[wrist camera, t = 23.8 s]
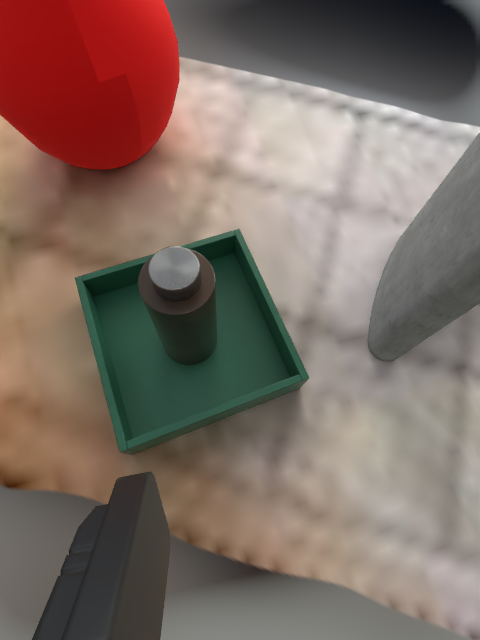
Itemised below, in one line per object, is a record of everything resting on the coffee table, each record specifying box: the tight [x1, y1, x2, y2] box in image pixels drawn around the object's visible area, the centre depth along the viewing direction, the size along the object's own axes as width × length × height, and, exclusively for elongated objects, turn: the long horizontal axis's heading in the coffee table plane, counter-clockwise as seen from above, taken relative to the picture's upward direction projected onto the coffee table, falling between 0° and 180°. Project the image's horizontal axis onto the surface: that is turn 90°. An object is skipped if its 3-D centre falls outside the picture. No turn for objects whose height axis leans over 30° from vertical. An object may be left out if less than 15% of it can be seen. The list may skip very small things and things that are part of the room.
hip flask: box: [368, 133, 480, 361], centre depth 28 cm, size 16×4×20 cm, turn 156°
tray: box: [75, 229, 309, 455], centre depth 32 cm, size 15×15×4 cm
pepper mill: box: [138, 246, 217, 365], centre depth 27 cm, size 5×5×12 cm
